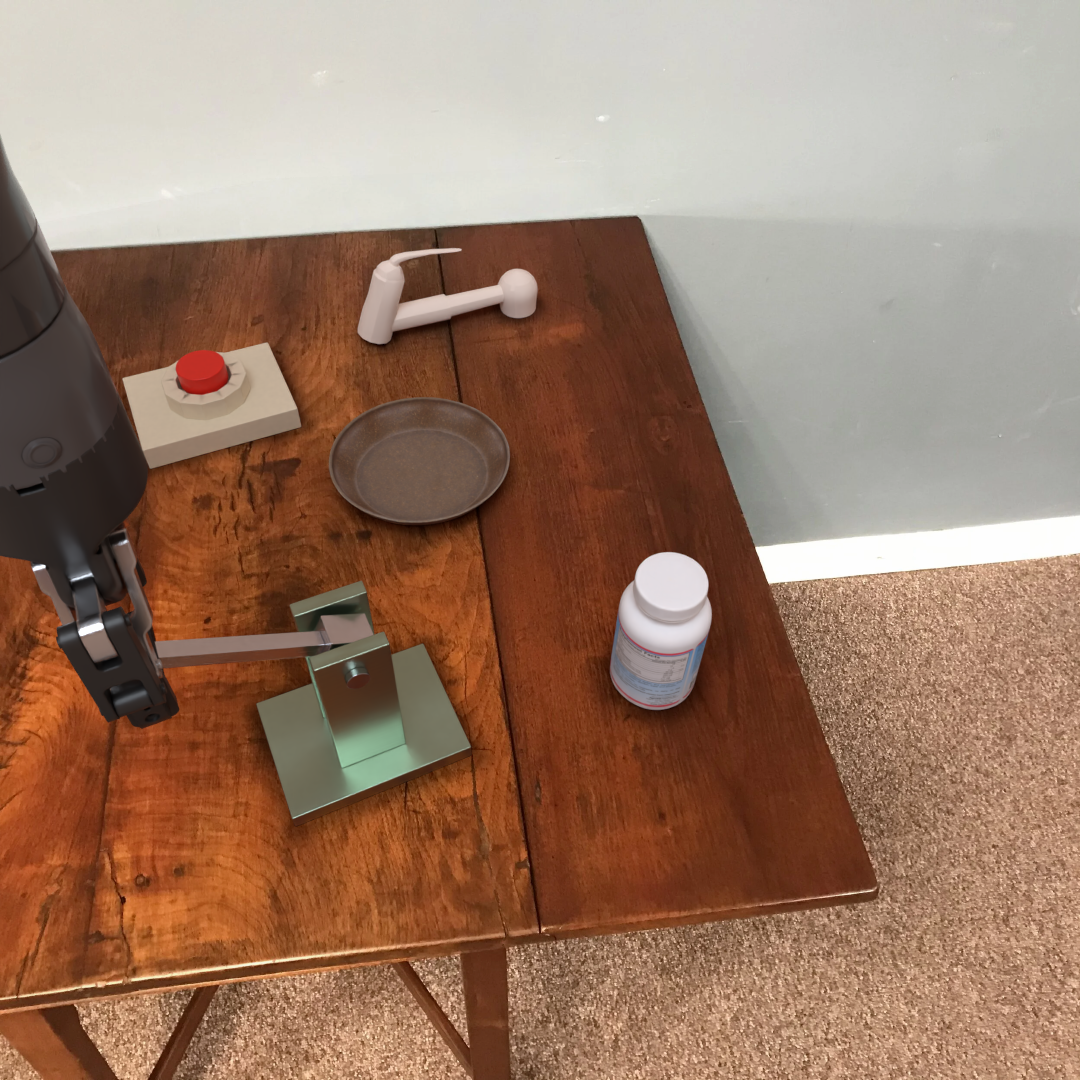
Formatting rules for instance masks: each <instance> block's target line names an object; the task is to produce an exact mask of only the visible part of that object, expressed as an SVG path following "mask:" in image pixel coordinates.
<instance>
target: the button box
mask: <svg viewBox="0 0 1080 1080" xmlns="http://www.w3.org/2000/svg"><path fill="white" fill-rule="evenodd" d="M216 352H217V353H218V354H220V355H221V356H222V357H223V359H224V362H225V365H226V369H227V372H228V381H227V383H226V385H225V386H224V387H222V388H221V389H219V390H218V391H216V392H212V393H208V394H204V395H196V394H190V393H187V392H186V391H185V390H183V388H182V387H181V384H180V381H179V379H178V376H177V373H176V364H177V362H178V361H179V360H180V359H178V360H176V361H175V362H174V363H172V364H171V365H169V366H166V367H162V368H158V369H157V368H156V369H153V370H149V371H145V372H141V373H137V374H133V375H130V376H125V377H122V379H121V380H122V383H123V387H124V390H125V393H126V396H127V400H128V404H129V408H130V411H131V416H132V419H133V422H134V425H135V429H136V432H137V433H136V434H137V436H138V441H139V443H140V446H141V448H142V450H143V453H144V455H145V458H146V461H147V466H148V469H155V468H159V467H163V466H166V465H170V464H173V463H177V462H180V461H185V460H187V459H191V458H195V457H198V456H202V455H206V454H209V453H213V452H216V451H220V450H221V451H222V450H225V449H227V448H232V447H235V446H239V445H242V444H245V443H249V442H253V441H256V440H260V439H263V438H267V437H271V436H274V435H279V434H282V433H285V432H289V431H292V430H296V429H299V428H302V423H301V417H300V413H299V408H298V407H297V404H296V402H295V400H294V397H293V395H292V393H291V391H290V389H289V386H288V384H287V381H286V380H285V377H284V376H283V373H282V371H281V368H280V366H279V364H278V361H277V360H276V357H275V356H274V353H273V351H272V349H271V346H270V344H269V342H262V343H259V344H254V345H251V346H247V347H243V348H239V349H234V350H230V351H226V352H222V351H221V352H220V351H216Z"/></svg>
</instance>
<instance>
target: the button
mask: <svg viewBox="0 0 1080 1080" xmlns="http://www.w3.org/2000/svg"><path fill="white" fill-rule="evenodd" d="M217 352H218V351H214V350H209V349H199V350H194V351H191V352H188V353H186V354H184V355H183V356H181V357H180V358H179V359H178V360H179V361H178V360H177V361H178V362H177V361H176V362H177V364H176V373H177V376H178V379H179V381H180V384H181V387H182V388H183V390H185V391H186V392H187V393H190V394H196V395H204V394H208V393H212V392H216V391H218V390H219V389H221V388H222V387H224V386H225V385H226V383H227V381H228V372H227V369H226V365H225V362H224V359H223V357H222V356H221V355H220V354H218V353H217Z"/></svg>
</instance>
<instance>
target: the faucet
mask: <svg viewBox="0 0 1080 1080" xmlns="http://www.w3.org/2000/svg"><path fill="white" fill-rule="evenodd" d="M459 252H462V248H460V247H459V248H458V247H448V248H430V249H421V250H413V251H412V250H411V251H403V252H399V253H395V254H393V255H392V256H391V257H390V258H389V259H387V260H383V261H381V262H380V263H379V264H377V265H376V268H375V269H373V271H372V275H371V280H370V284H369V287H368V292H367V295H366V298H365V300H364V303H363V306H362V309H361V313H360V317H359V321H358V324H357V334H358V335H359V336H360V338H362V339H363V340H365V341H367V342H368V343H370V344H371V343H372V344H377V345H383V344H384V345H385V344H388V343H389V342H390V341H391V340H392V336H393V333H394V332H399V331H403V330H407V329H412V328H417V327H422V326H427V325H431V324H435V323H440V322H444V321H449V320H451V318H453V317H455V316H458V315H462V314H466V313H469V312H474V311H477V310H481V309H484V308H488V307H491V306H495V305H499V308H500V312H501V313H502V314H503V315H505V316H507V317H509V318H513V319H523V318H527V317H530V316H531V315H533V314H534V313H535V312H536V309H537V300H538V299H537V298H538V291H539V288H538V283H537V280H536V278H535V277H534V275H533V274H531V273H530V272H529V271H528V270H526V269H523V268H512V269H509V270H507V271H505V273H503V274H502V275H501V276H500V279H499V281H498V282H497V284H495V285H491V286H486V287H482V288H481V287H480V288H477V289H472V290H467V291H462V292H459V293H453V294H449V295H446V294H444V293H441V294H437V295H433V296H428V297H423V298H419V299H415V300H410V301H406V302H400V300H401V296H402V293H403V289H404V285H405V282H406V281H405V274H404V270H403V268H402V267H401V265H400V264H401V263H402V262H405V261H409V260H413V259H416V258H420V257H421V258H422V257H425V256H430V255H440V254H451V253H459Z"/></svg>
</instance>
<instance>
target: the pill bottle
mask: <svg viewBox="0 0 1080 1080" xmlns="http://www.w3.org/2000/svg"><path fill="white" fill-rule="evenodd" d="M708 592H709V578H708V575H707V573H706V571H705V569H704V568H703V567H702V565H701V564H700V563H699V562H698V561H696V560H695V559H693V558H692V557H690V556H687V555H686V554H682V553H680V552H674V551H673V552H672V551H665V552H658V553H655V554H652V555H649V556H648V557H647V558H645V559H643V561H642V562H641V563H640V564H639V566H638V567H637V569H636V572H635V574H634V580H632V581H631V582H630V583H629V584H628V585H627V587H625V589H624V590H623V592H622V594H621V597H620V601H619V605H618V609H617V610H618V611H617V617H616V623H615V629H614V637H613V641H612V642H613V643H612V650H611V656H610V664H609V674H610V678H611V681H612V684H613V685H614V688H615V690H617V691H618V693H619V694H620V695H621V696H622V697H623V698H625V699H626V700H627V701H628V702H630V703H631V704H633V705H635V706H637V707H640V708H642V709H646V710H650V711H651V710H652V711H661V710H668V709H670V708H674V707H676V706H678V705H679V704H681V703H683V702H684V701H685V700H686V699H687V698H688V696H690V694H691V692H692V690H693V688H694V687H695V683H696V680H697V677H698V672H699V669H700V666H701V662H702V658H703V654H704V651H705V647H706V644H707V640H708V637H709V633H710V629H711V625H712V619H713V618H712V617H713V614H712V613H713V610H712V606H711V601H710V600H709V597H708Z"/></svg>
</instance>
